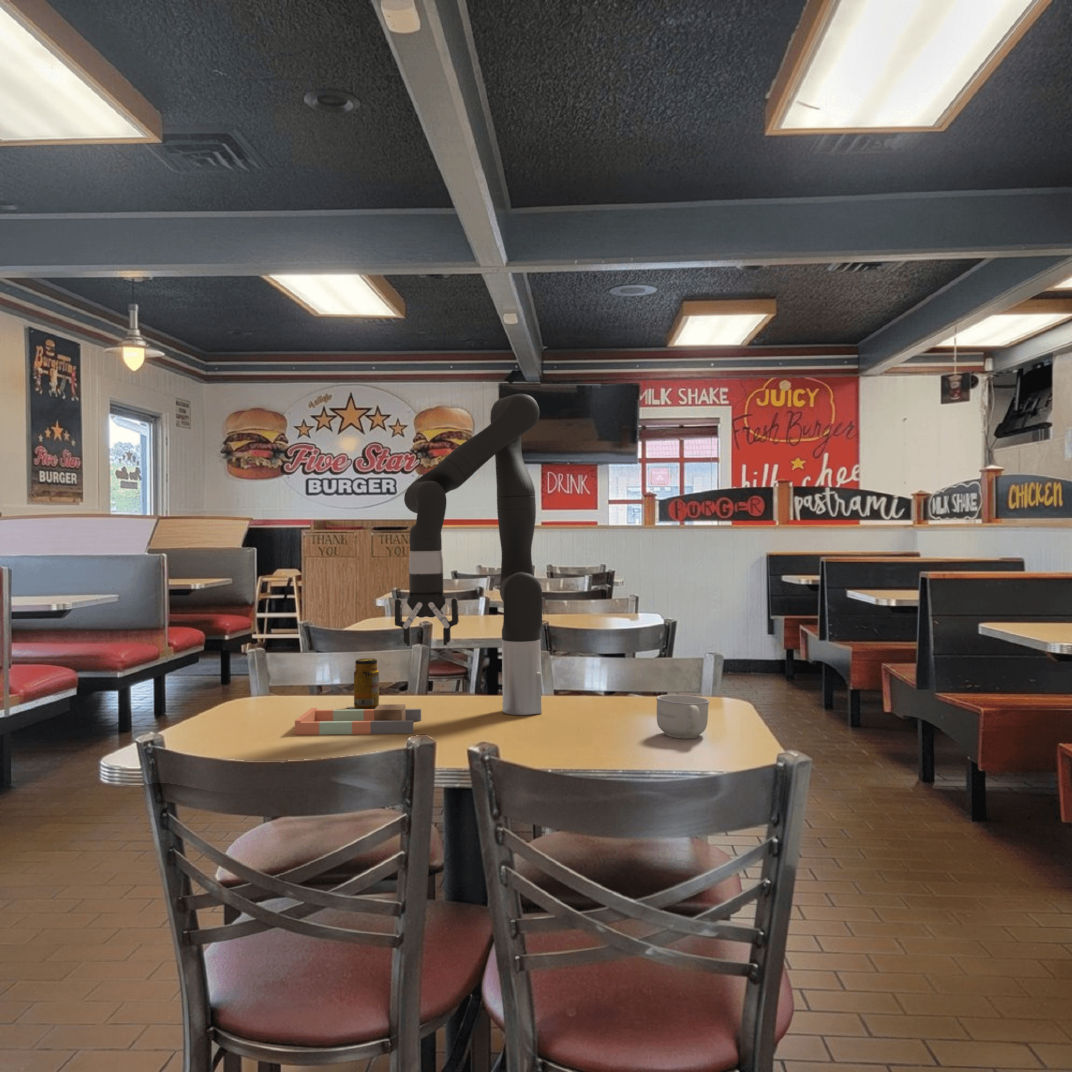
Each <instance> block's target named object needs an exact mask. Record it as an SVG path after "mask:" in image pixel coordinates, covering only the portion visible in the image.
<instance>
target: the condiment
mask: <svg viewBox="0 0 1072 1072" xmlns="http://www.w3.org/2000/svg"><path fill="white" fill-rule="evenodd" d="M354 665H355V667H354V668H355V670H354V671H353V705H354V706H353V705H352V706H347V707H346V708H348V710H352V709H375V708H376V707H377V706H378V705H380V673H379V672H380V671H379V669H378V660H377V659H376V658H372V657H371V658H369V657H368V658H367V657H366V658H358V659H356V660H355V664H354Z"/></svg>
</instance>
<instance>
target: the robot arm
mask: <svg viewBox="0 0 1072 1072" xmlns="http://www.w3.org/2000/svg"><path fill="white" fill-rule="evenodd" d="M539 417H540V407H539V405H538V403H537V400H535V398H534V397H532V396H531V395H529V394H525V393H516V394H515V393H514V394H511V395H508V396H505V397H502V398H499V399H497V400H496V401H495V402H494V403H493V405H492V407H491V410H490V418H489V419H490V424H489V425H488V426H487V427H485V428H484V429H482V430H481V431H480V432H478V433H476V434H475V435H474V436H472V437H470V438H469V439H467V440H466V441H464V442H463V443H461V444H460V445H459V446H457V447H456V448H455V449H454V450H452V451H451V452H450V453H449V454H448V455H447V456H446V457H444V459H442V460H441V461H440V462H439V464H437V465H436V466H435V467H434V468H432V469H430V470H428V471H427V472H425V473H423V474H422V475H421V476H420V477H418V478H417V479H416V480H415V481H413V482H412V483H411V484H410V485H408V487H407V489H406V490H405V493H404V495H403V497H404V498H403V499H404V500H403V501H404V504H405V507H406V508H407V509H408V510H409V511H410V512H412V513H414V514H416V522H415V524H414V525H413V526H412V527H411V528H410V531H409V560H408V568H407V569H408V576H409V577H408V584H409V585H408V590H409V591H408V592H409V595H408V597H407V598H400V597H399V598H396V599H395V600H394V625H395V627H400V628H402V631H403V642H404V644H406V646H407V647H411V646H412V628H411V625H412V623H414V621H415V620H416V617H417V618H419V619H420V618H422V619H423V618H426V617H427V618H435V617H436V618H437V620H438V621H439V622H440V623H441V624H442V626H443V628H442V631H443V634H442V636H443V637H442V638H443V639H442V641H443V646H448V643H450V642H451V639H452V638H451V628H452V627H454V626H457V625H458V624H459V623H460V622H459V620H460V619H459V599H458V597H453V598H446V597H445V594H444V559H443V551H442V549H443V547H442V542H443V541H442V529H443V526H444V522H445V516H446V511H447V495H446V494H447V493H449V492H451V491H454V490H457V489H459V488H460V487H461V486H462V485H463V484H465V483H466V482H467V481H468V480H469V479H470V478H471V477H472V476H473V475H474V474H475V473H476V472H477V471H478V470H480V468H481V467H482V466H484V465H485V464H486V463H487V462H488V461H489V460H490V459H492V458H493V457H495V458H494V459H495V478H496V481H495V482H496V511H497V512H496V513H497V524H498V533H499V541H500V548H501V549H500V550H501V561H500V563H501V565H500V567H501V568H500V580H499V581H500V582H499V595H500V599H501V600H502V602H503V624H502V629H501V660H502V661H501V664H502V666H501V672H502V678H501V679H502V682H501V683H502V713H504V714H506V715H511V716H529V715H537V714H542V666H541V665H542V663H541V662H542V661H541V660H542V657H541V654H542V652H541V651H542V650H541V649H542V648H541V638H542V637H541V636H542V635H541V632H542V629H543V628H542V627H543V589H542V586H541V583H540V581H539V580H538V578H537V577H535V576H534V570H533V560H532V559H533V558H532V547H533V539H534V533H535V528H536V526H535V525H536V516H537V514H536V513H537V510H536V509H537V508H536V507H537V506H536V490H535V485H534V483H533V480H532V477H531V475H530V472H529V471H528V468H527V466H526V464H525V462H524V457H523V453H522V435H524V434H525V433H527V432H529V431H530V430H532V429H533V428H534V427H535V426H536V425H537V424H538V422H539ZM446 604H447V606H448V608H449V609H451V620H449V619H448V618H447V617H446V615H445V613H444V612H443V611H442V610H443V608H444V606H445V605H446ZM406 605H408V607H409V608H410V610H411V613H409V615H408V617H407V618H406V620H403V609H405V607H406Z"/></svg>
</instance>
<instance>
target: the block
mask: <svg viewBox="0 0 1072 1072" xmlns="http://www.w3.org/2000/svg"><path fill="white" fill-rule="evenodd" d="M405 709H406V704H405V703H402V704H400V703H399V704H398V703H397V704H396V703H395V704H393V703H392V704H389V703H388V704H379V705H378V706H377V707H376V708H375V710H374V721H403V720H406V716H405Z"/></svg>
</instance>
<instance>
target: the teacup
mask: <svg viewBox="0 0 1072 1072" xmlns="http://www.w3.org/2000/svg"><path fill="white" fill-rule="evenodd" d="M655 699H656V723H657V727H658V728H659V729H660V730H661V732H663V733H664V735H665V736H668V737H669V738H670V737H671V738H676V739H687V740H688V739H695V738H698V737H699V736H700V735H701V734H702V733H704V732H706V729H707V726H708V719H709V704H710V700H709V699H707V698H705V697H702V696H696V695H688V694H687V695H686V694H661V695H658V696H656V698H655Z"/></svg>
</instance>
